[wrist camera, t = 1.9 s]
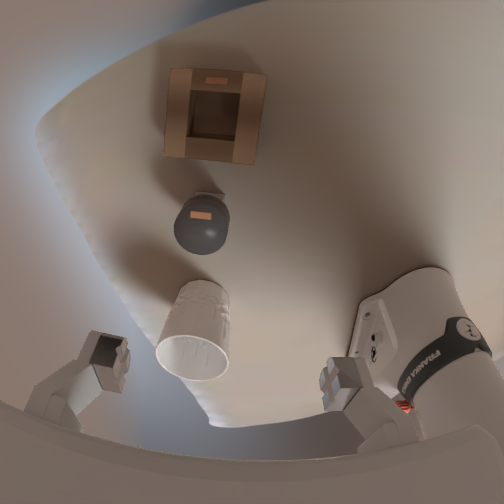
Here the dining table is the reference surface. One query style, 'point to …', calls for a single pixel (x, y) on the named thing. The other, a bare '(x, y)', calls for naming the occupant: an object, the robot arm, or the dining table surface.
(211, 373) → the white cup
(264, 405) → the dining table surface
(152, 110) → the dining table surface
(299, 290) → the dining table surface
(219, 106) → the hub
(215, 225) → the knob
